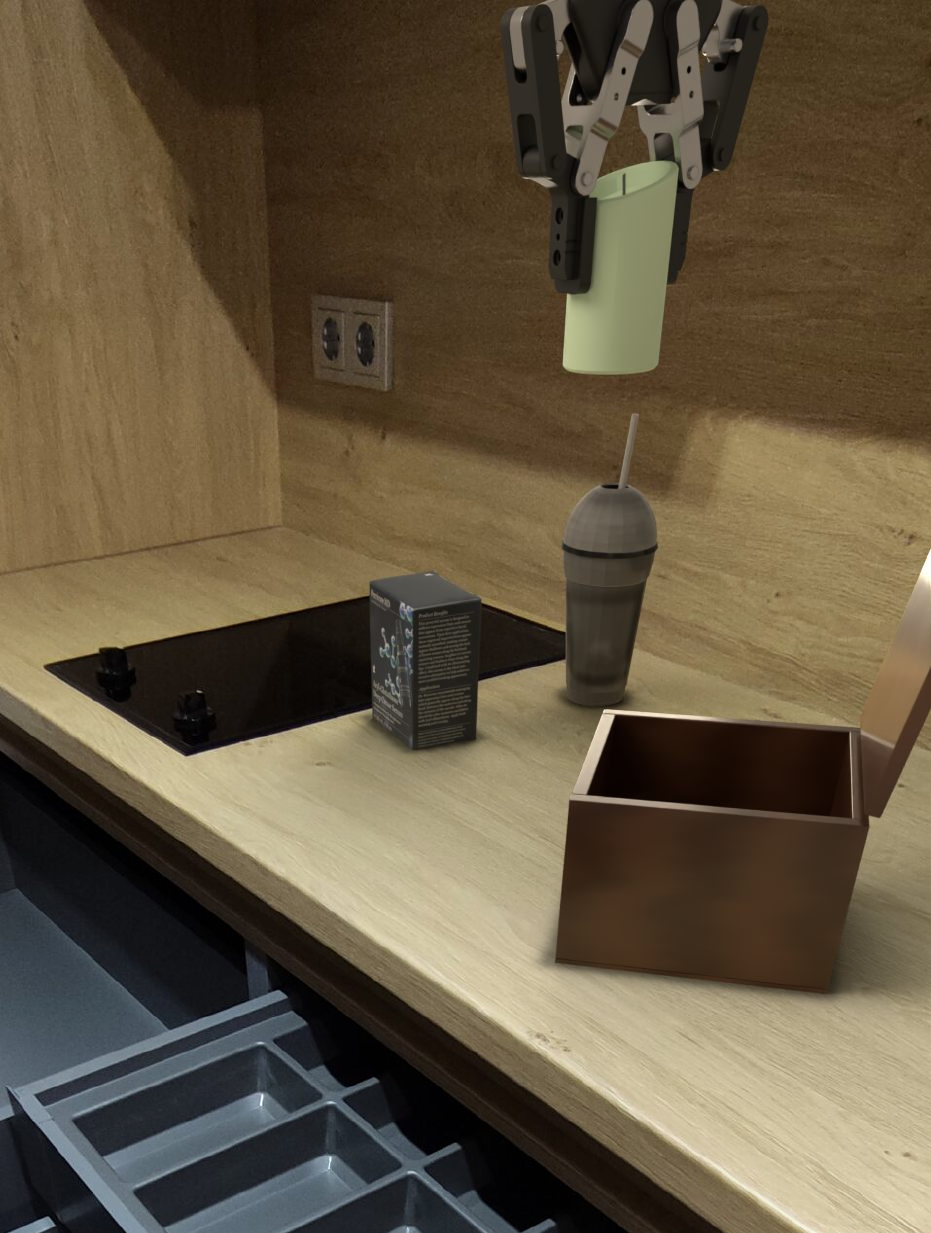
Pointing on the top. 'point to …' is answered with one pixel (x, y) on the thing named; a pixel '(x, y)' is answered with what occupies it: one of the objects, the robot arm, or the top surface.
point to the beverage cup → (606, 584)
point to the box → (424, 659)
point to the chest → (713, 849)
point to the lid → (898, 700)
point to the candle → (624, 274)
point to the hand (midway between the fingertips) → (616, 287)
